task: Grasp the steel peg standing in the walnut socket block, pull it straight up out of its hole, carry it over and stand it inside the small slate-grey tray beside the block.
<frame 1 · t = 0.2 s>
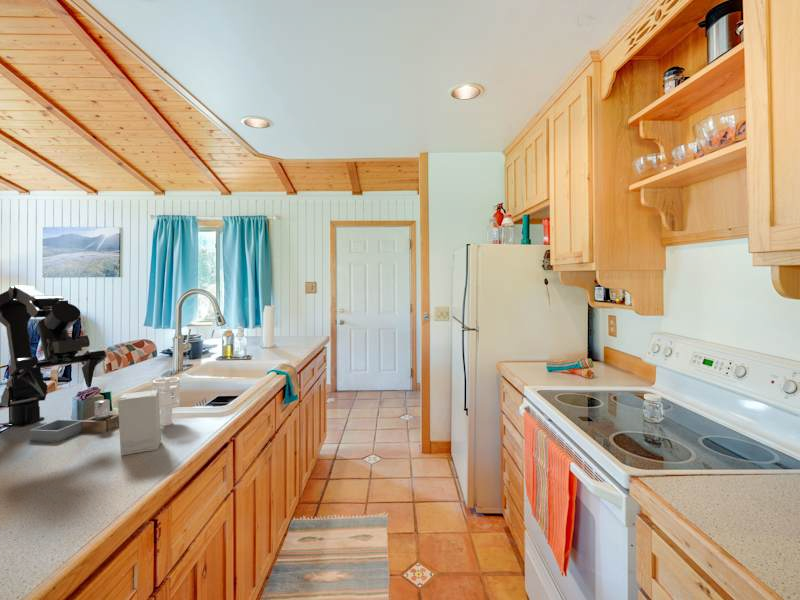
hand: (68, 391, 96), 15 cm above the counter, tool tilted 30°, fingers open, 9 cm apart
tray: (57, 435, 102), on the counter
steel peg: (102, 414, 108), in the socket block
socket block: (102, 427, 108), on the counter
skincare box: (140, 449, 95), on the counter
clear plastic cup: (166, 424, 112), on the counter
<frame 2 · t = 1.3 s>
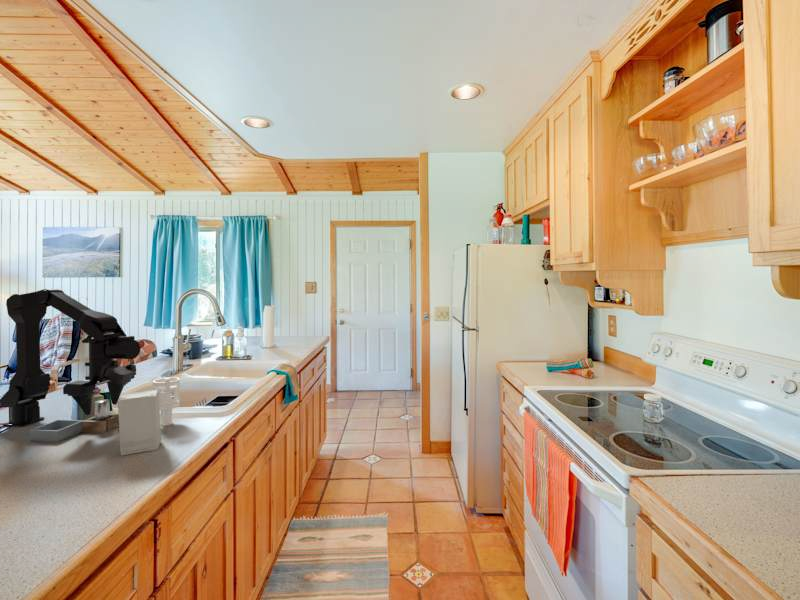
hand: (101, 409, 108), 6 cm above the counter, tool pointing down, fingers open, 9 cm apart
nothing on the counter moved.
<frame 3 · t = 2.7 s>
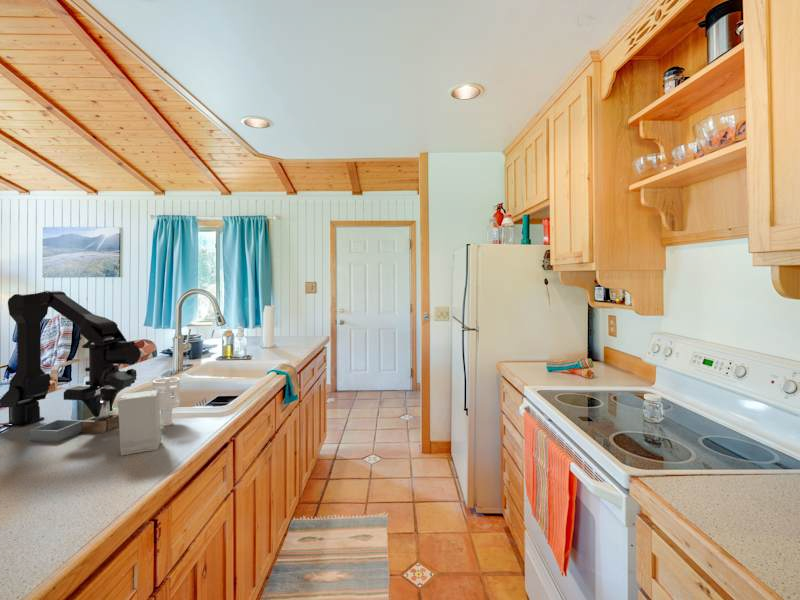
hand: (102, 414, 108), 4 cm above the counter, tool pointing down, fingers closed on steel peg, 3 cm apart
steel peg: (102, 414, 108), in the socket block, touching gripper
everything else where it was.
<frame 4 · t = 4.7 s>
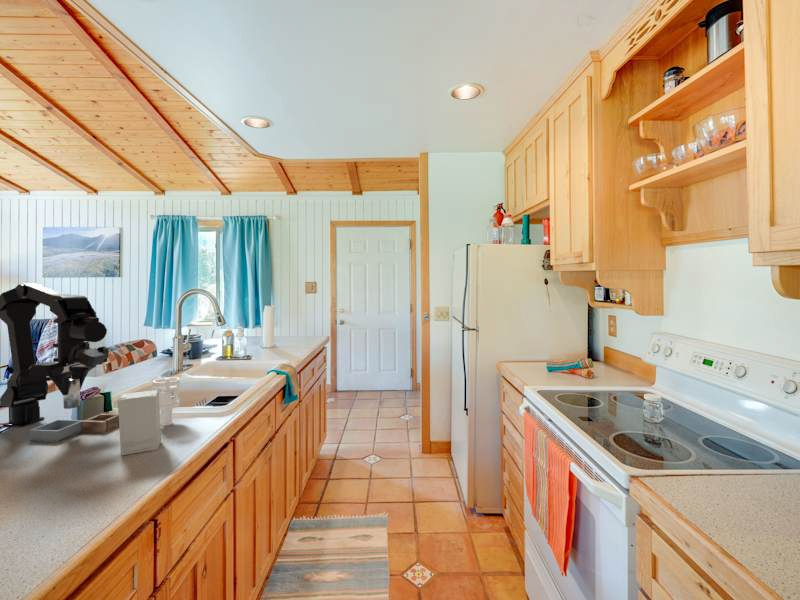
hand: (71, 392, 104), 12 cm above the counter, tool pointing down, fingers closed on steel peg, 3 cm apart
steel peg: (71, 393, 104), point 12 cm above the counter, touching gripper
everything else where it was.
when the fingers open (6 cm above the counter, at t = 6.7 s): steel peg drops 1 cm, resting on tray.
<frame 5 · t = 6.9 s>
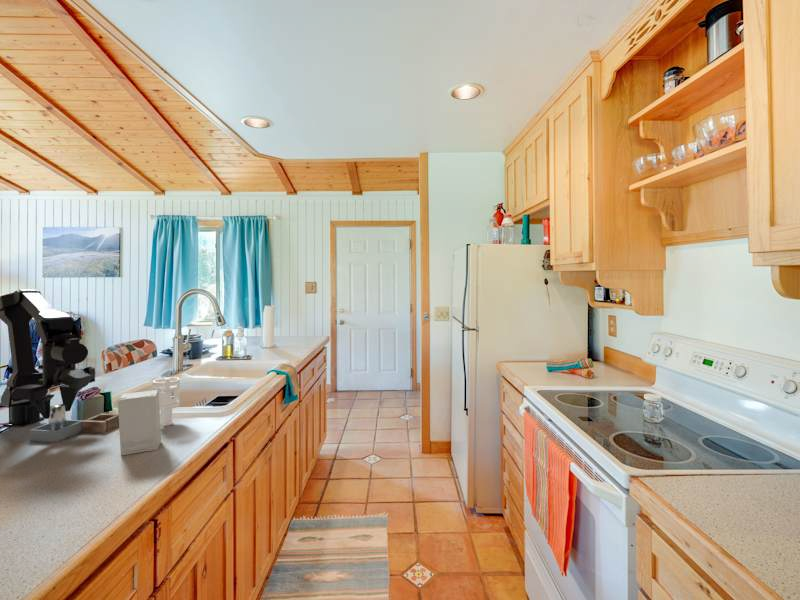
hand: (57, 414, 102), 6 cm above the counter, tool pointing down, fingers open, 6 cm apart
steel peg: (57, 419, 102), in the tray
everything else where it was.
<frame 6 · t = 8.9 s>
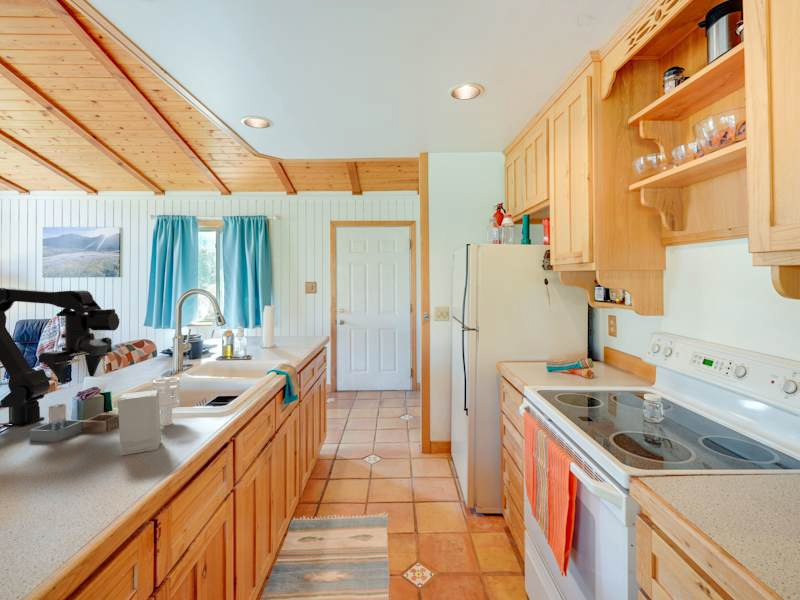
hand: (78, 379, 113), 13 cm above the counter, tool pointing down, fingers open, 9 cm apart
nothing on the counter moved.
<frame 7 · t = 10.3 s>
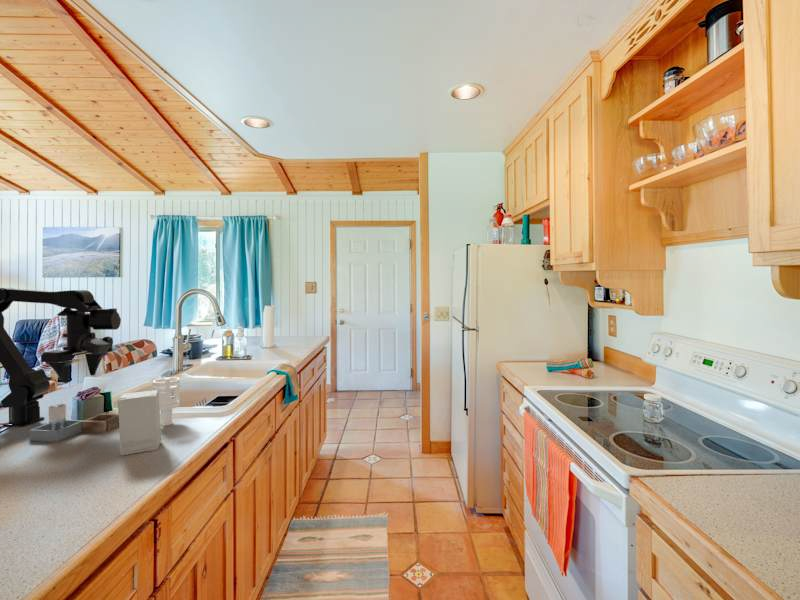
hand: (79, 378, 114), 13 cm above the counter, tool pointing down, fingers open, 9 cm apart
nothing on the counter moved.
at the end: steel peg 0.0 cm off-centre on the tray, point 4.5 cm above the tray's base; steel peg tilted 0°; the gripper is holding nothing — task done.
